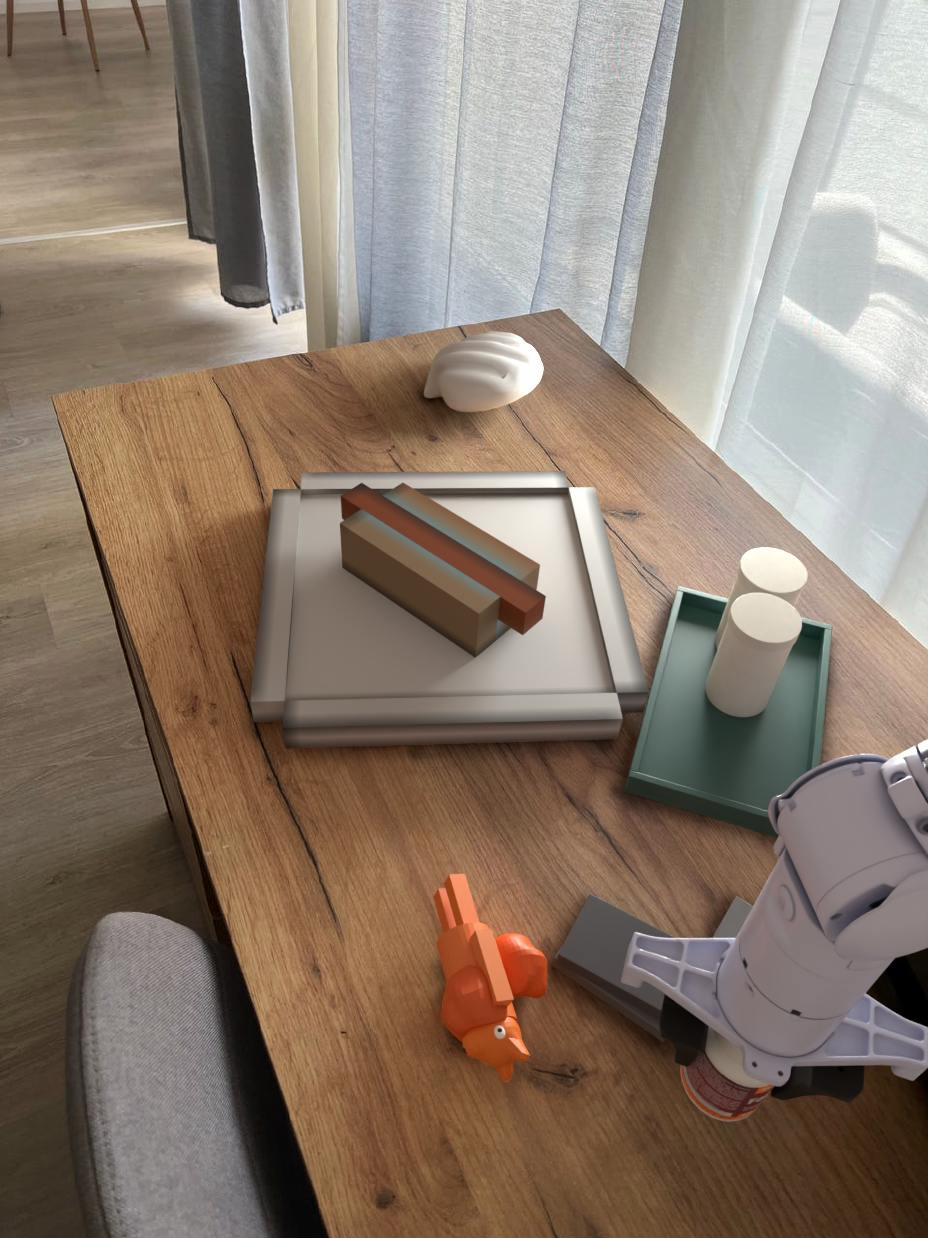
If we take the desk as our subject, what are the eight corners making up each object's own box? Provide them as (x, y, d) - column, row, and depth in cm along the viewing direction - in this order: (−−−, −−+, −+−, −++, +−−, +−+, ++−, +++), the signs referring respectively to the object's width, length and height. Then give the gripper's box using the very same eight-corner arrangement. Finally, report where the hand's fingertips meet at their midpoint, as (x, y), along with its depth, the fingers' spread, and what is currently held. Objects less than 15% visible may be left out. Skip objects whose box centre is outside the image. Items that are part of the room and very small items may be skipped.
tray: (805, 846, 68) (814, 831, 66) (623, 792, 70) (628, 776, 69) (825, 641, 82) (832, 625, 81) (673, 601, 84) (677, 585, 83)
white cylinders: (765, 726, 75) (799, 651, 68) (699, 707, 76) (726, 631, 69) (778, 633, 82) (810, 556, 75) (718, 617, 83) (744, 540, 76)
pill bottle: (745, 1141, 53) (789, 1090, 47) (666, 1092, 55) (698, 1037, 49) (773, 1065, 56) (817, 1008, 50) (697, 1021, 57) (731, 960, 51)
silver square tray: (586, 496, 94) (597, 433, 89) (647, 743, 73) (667, 679, 68) (277, 498, 92) (270, 433, 86) (252, 754, 71) (239, 689, 66)
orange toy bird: (423, 865, 59) (478, 1061, 51) (528, 860, 62) (595, 1043, 54) (398, 908, 62) (445, 1099, 54) (499, 901, 65) (558, 1080, 57)
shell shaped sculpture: (563, 403, 105) (571, 350, 101) (479, 445, 99) (483, 391, 95) (484, 353, 112) (488, 302, 107) (400, 389, 106) (400, 336, 101)
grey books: (845, 973, 61) (858, 957, 60) (778, 1126, 55) (790, 1112, 53) (631, 842, 67) (637, 824, 66) (546, 966, 61) (551, 949, 59)
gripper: (628, 986, 42) (587, 1089, 52) (971, 1101, 40) (859, 1188, 49) (657, 853, 47) (614, 971, 57) (965, 948, 44) (864, 1055, 54)
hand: (729, 1063), depth 54 cm, fingers closed on pill bottle, 5 cm apart
